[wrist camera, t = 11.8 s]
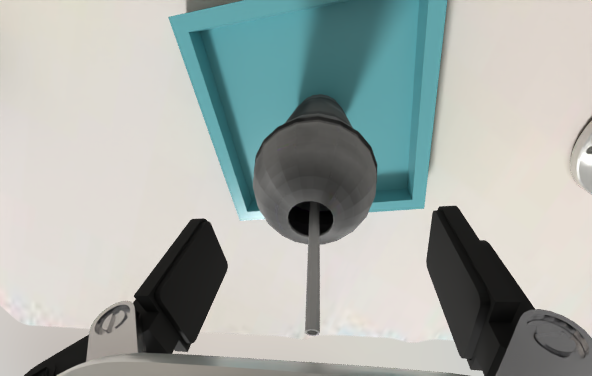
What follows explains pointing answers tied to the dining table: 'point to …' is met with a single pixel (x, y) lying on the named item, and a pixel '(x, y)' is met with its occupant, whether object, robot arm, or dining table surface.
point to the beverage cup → (315, 184)
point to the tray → (318, 81)
